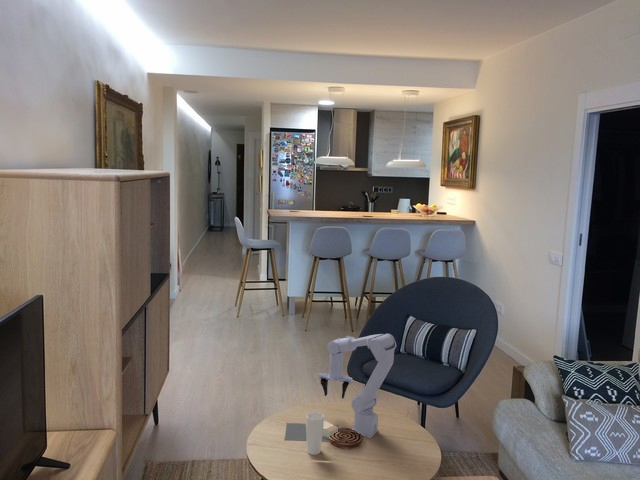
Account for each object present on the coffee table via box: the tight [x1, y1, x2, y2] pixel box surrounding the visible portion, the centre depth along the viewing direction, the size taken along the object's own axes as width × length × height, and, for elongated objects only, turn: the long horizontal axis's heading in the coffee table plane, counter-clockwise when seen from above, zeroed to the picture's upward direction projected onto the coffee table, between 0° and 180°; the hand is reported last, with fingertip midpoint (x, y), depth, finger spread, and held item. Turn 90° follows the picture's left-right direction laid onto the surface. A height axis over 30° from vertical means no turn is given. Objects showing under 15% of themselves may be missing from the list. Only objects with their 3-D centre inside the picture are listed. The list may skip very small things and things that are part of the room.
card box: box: [322, 420, 338, 438], centre depth 218 cm, size 8×5×3 cm, turn 45°
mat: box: [284, 422, 340, 443], centre depth 218 cm, size 22×14×1 cm, turn 90°
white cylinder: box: [305, 411, 325, 456], centre depth 203 cm, size 7×7×15 cm
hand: (334, 396), depth 232 cm, fingers open, 7 cm apart
